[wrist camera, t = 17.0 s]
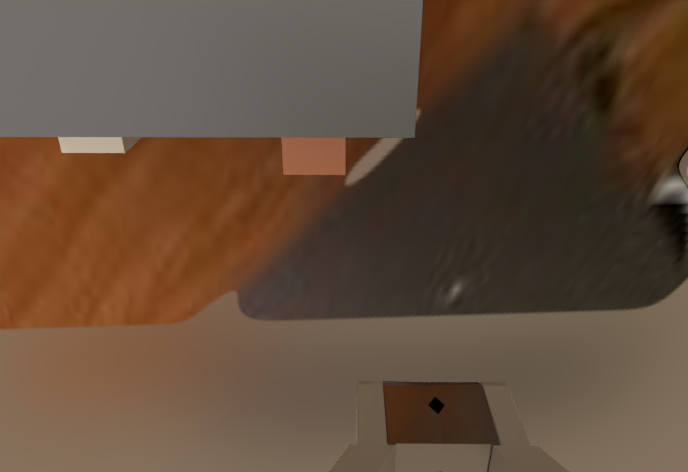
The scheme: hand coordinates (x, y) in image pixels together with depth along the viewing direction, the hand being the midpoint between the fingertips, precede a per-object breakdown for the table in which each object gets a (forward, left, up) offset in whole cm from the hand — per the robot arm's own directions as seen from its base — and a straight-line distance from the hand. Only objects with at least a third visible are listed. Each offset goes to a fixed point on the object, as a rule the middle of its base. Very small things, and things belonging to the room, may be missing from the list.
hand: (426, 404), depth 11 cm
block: (+8, +8, -33) cm, 35 cm away
